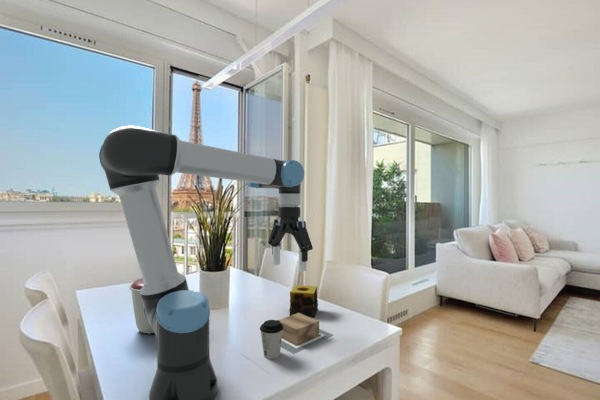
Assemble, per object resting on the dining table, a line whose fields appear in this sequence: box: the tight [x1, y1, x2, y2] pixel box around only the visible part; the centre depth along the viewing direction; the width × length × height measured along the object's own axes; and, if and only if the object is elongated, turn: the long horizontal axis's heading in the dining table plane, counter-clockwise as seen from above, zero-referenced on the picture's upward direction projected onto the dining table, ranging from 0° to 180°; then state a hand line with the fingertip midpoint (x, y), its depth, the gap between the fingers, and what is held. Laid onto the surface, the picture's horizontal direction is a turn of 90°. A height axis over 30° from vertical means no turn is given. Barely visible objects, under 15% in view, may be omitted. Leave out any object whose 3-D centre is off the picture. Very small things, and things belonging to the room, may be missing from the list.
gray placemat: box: [281, 328, 334, 355], centre depth 103 cm, size 18×16×1 cm
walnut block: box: [277, 313, 320, 346], centre depth 103 cm, size 10×10×5 cm
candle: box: [288, 285, 319, 319], centre depth 124 cm, size 10×10×10 cm
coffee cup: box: [259, 319, 283, 360], centre depth 91 cm, size 7×7×10 cm
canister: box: [128, 277, 154, 334], centre depth 111 cm, size 18×18×21 cm
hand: (288, 267), depth 106 cm, fingers open, 13 cm apart
